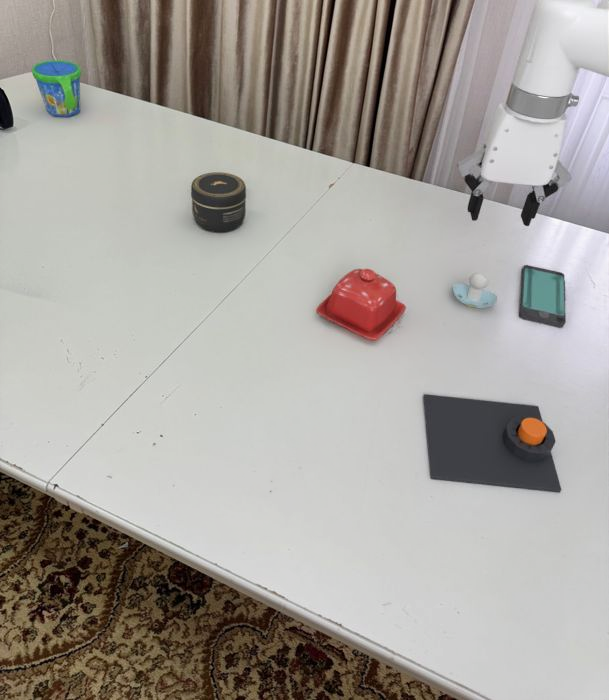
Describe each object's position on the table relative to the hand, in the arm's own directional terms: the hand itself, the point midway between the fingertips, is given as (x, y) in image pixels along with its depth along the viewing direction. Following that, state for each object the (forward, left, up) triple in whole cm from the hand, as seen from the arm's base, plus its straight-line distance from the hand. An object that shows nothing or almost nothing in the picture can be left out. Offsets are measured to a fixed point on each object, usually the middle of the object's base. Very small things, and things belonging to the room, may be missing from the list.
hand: (499, 218), depth 94 cm
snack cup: (+91, -59, -16) cm, 110 cm away
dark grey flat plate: (+2, +31, -16) cm, 35 cm away
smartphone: (-12, -3, -16) cm, 20 cm away
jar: (+46, -17, -16) cm, 52 cm away
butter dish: (+19, +7, -16) cm, 26 cm away
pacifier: (0, 0, -16) cm, 16 cm away
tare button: (-3, +31, -14) cm, 34 cm away
